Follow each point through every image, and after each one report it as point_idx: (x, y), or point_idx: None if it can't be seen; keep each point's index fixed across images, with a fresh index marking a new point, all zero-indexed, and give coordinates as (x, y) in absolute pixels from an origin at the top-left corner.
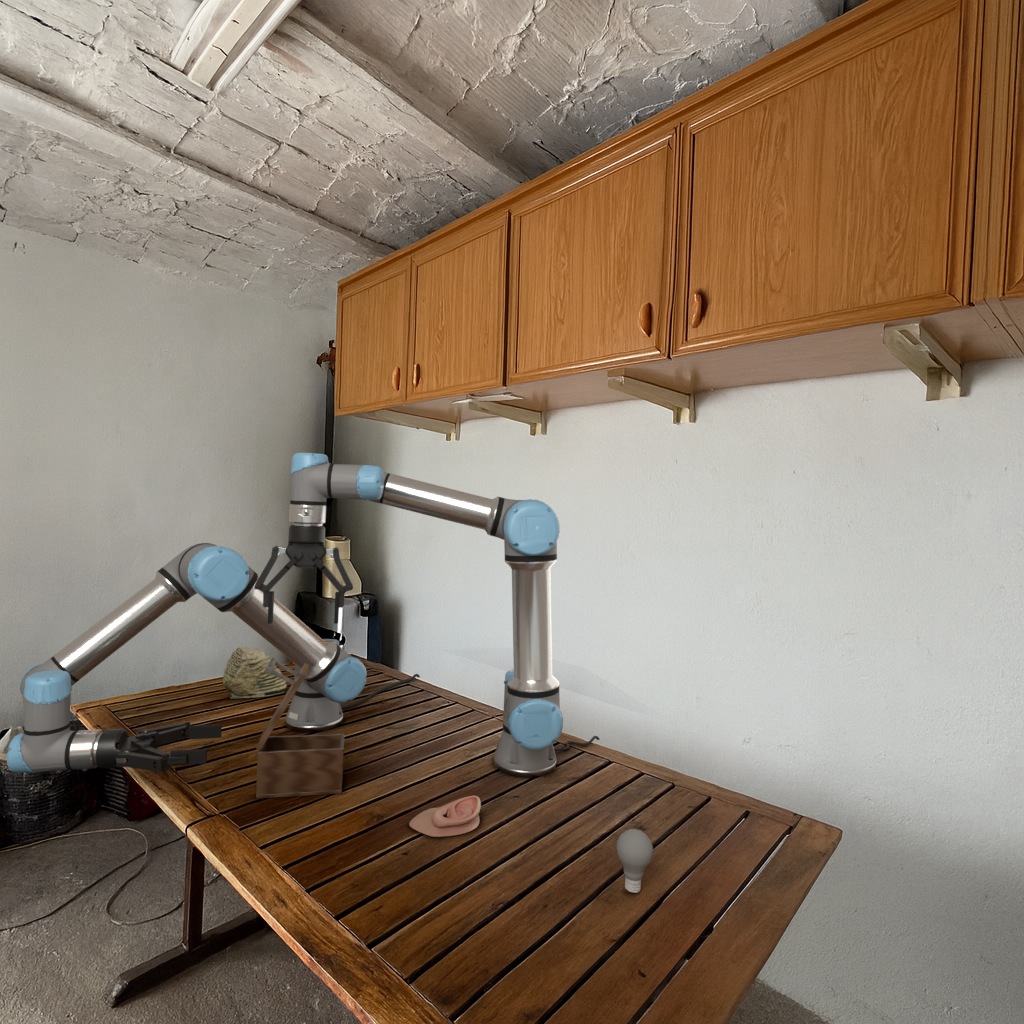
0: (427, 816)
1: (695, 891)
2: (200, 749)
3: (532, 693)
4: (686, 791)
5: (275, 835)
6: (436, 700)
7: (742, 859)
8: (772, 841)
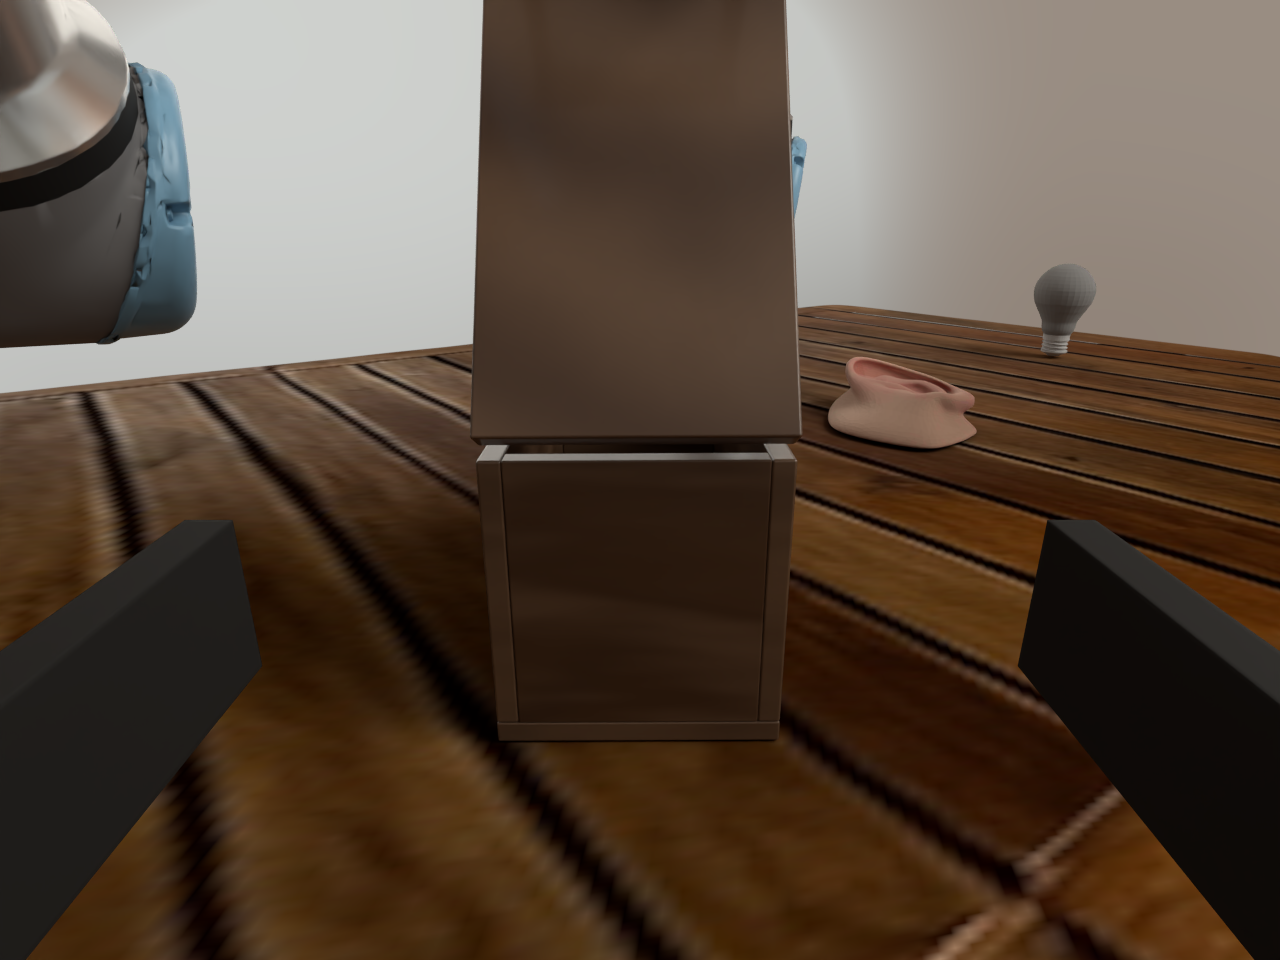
0: (929, 410)
1: (1022, 341)
2: (1105, 550)
3: (791, 123)
4: None
5: None
6: (4, 408)
7: (925, 325)
8: (872, 316)
